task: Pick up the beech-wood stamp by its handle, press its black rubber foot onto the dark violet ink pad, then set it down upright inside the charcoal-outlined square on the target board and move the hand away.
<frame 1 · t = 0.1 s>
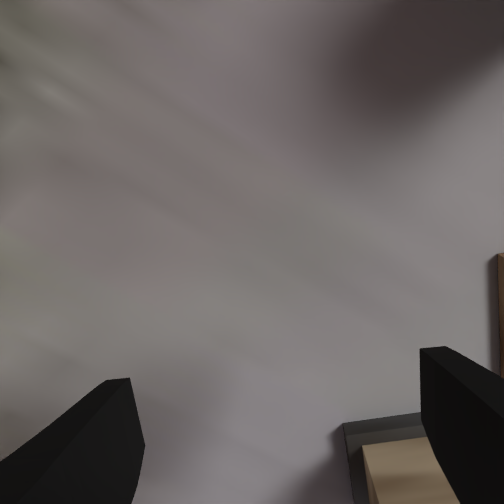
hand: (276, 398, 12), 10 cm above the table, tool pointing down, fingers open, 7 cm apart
stamp: (396, 456, 24), on the table
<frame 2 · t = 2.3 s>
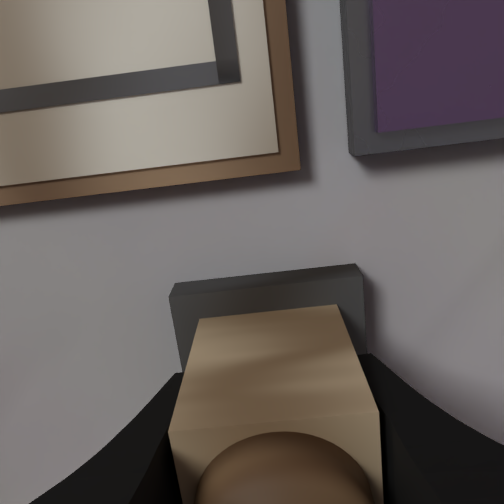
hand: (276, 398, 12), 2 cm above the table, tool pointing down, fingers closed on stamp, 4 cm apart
stamp: (273, 353, 14), on the table, touching gripper
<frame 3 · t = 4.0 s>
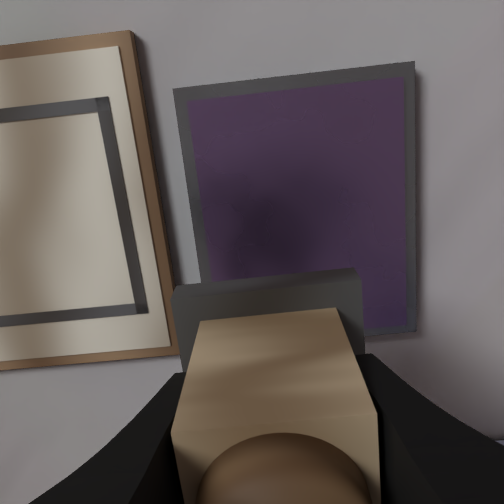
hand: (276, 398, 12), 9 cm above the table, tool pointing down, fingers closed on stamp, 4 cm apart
stamp: (273, 355, 14), point 7 cm above the table, touching gripper
target board: (30, 219, 20), on the table
ink pad: (301, 214, 20), on the table
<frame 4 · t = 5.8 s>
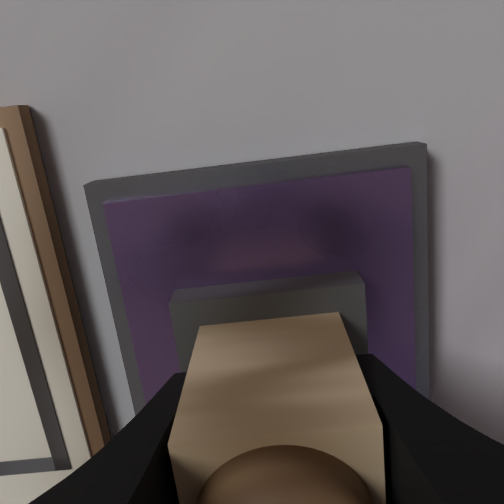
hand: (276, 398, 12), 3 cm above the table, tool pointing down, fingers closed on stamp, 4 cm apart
stamp: (274, 360, 14), point 1 cm above the table, touching gripper, ink pad
ink pad: (273, 339, 15), on the table
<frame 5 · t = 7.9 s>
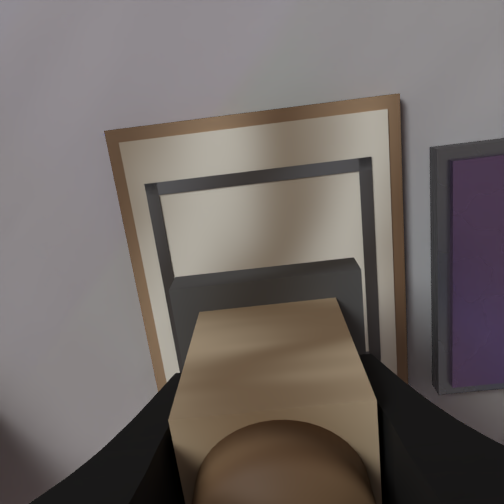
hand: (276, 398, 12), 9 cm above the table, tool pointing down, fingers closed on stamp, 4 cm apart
stamp: (273, 347, 14), point 7 cm above the table, touching gripper
target board: (268, 271, 21), on the table
when the fingers open (4 cm above the table, at t = 9.5 s): stamp stays where it is, resting on target board.
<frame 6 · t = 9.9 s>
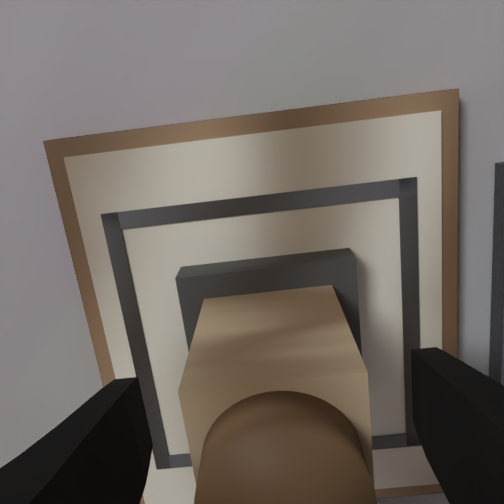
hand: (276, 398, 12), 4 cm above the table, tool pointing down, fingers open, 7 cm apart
stamp: (273, 333, 15), point 1 cm above the table, touching target board
target board: (272, 327, 15), on the table
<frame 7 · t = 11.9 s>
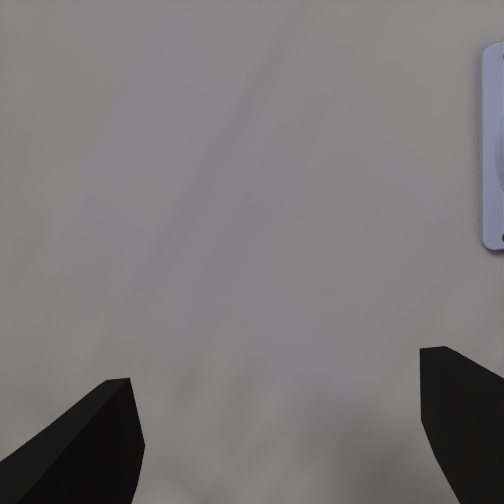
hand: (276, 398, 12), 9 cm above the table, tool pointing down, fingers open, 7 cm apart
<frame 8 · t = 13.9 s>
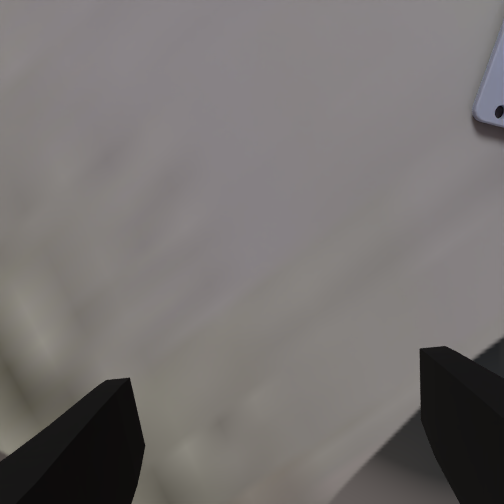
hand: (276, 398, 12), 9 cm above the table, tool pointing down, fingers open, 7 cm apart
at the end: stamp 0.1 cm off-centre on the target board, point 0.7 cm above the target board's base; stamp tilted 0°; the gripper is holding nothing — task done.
